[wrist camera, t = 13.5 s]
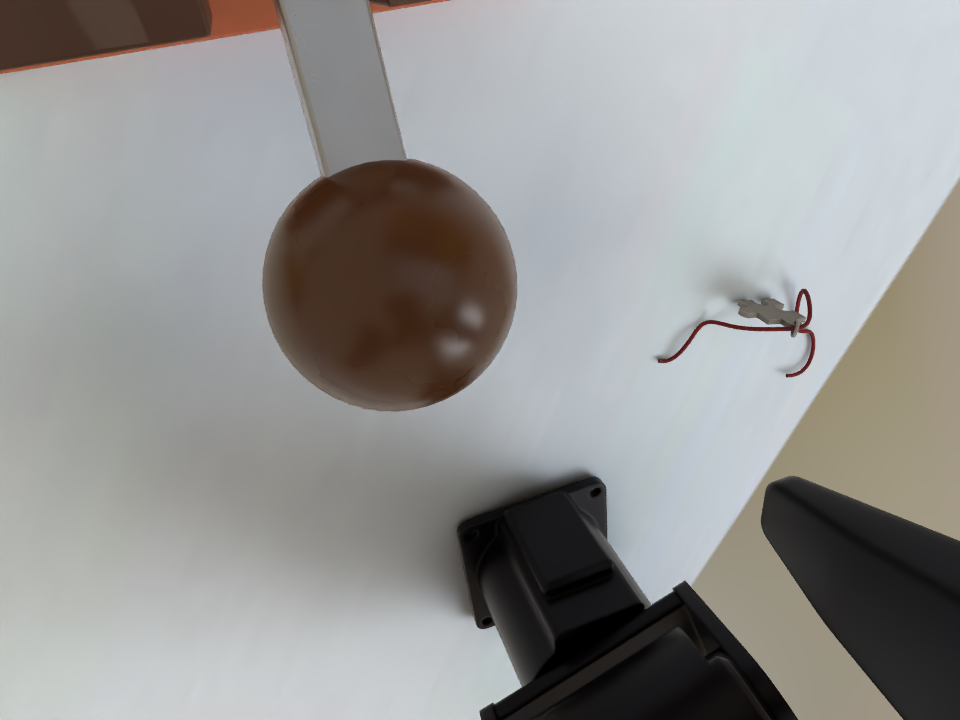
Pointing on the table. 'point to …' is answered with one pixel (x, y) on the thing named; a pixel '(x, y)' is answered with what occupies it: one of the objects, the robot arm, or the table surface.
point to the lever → (378, 237)
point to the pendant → (769, 314)
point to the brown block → (128, 26)
